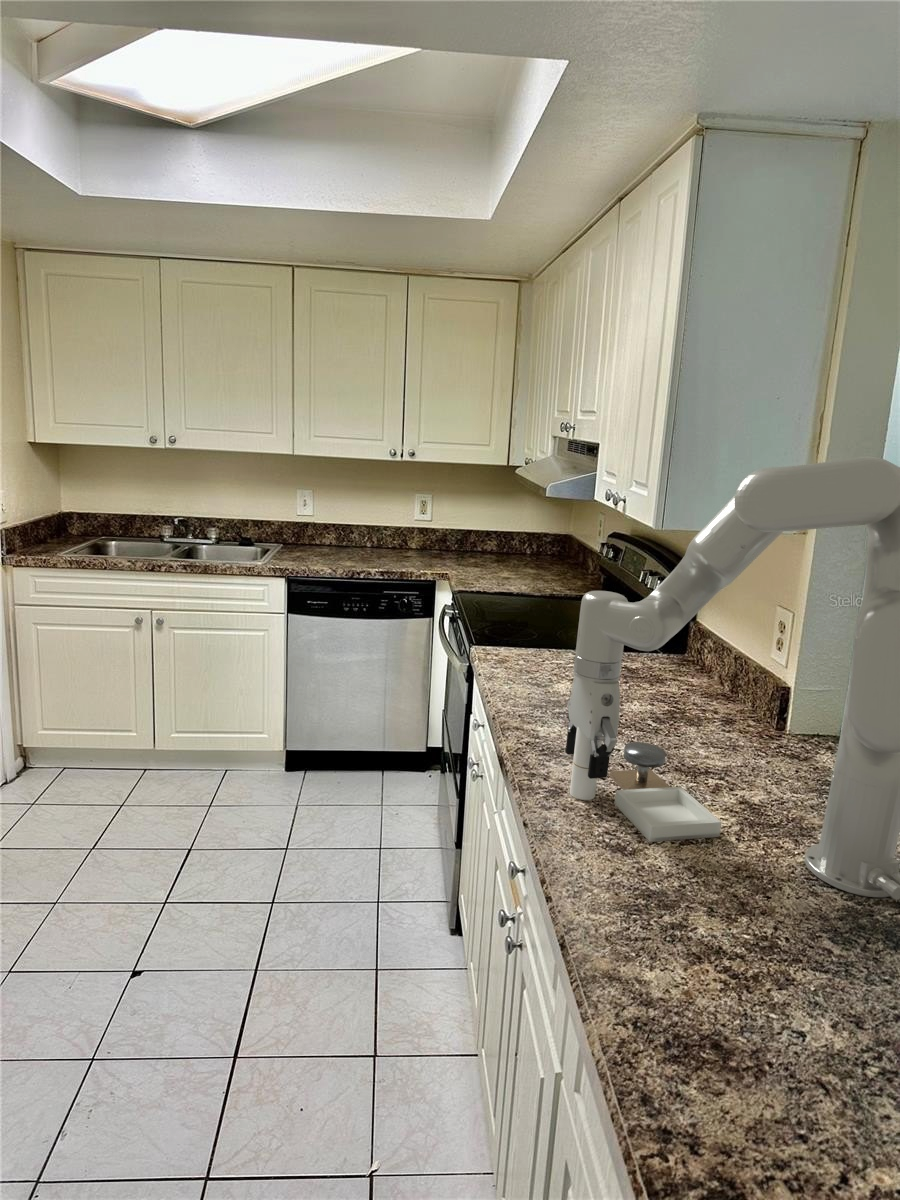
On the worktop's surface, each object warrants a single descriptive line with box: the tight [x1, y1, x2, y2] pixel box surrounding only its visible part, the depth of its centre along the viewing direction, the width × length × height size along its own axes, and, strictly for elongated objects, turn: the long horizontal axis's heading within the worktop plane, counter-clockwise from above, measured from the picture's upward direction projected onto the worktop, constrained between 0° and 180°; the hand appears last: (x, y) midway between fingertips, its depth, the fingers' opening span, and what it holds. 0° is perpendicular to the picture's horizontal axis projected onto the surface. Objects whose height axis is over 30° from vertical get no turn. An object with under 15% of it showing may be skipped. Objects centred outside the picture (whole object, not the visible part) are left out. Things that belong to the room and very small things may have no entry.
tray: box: [613, 786, 722, 843], centre depth 124 cm, size 12×12×2 cm
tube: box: [569, 727, 603, 801], centre depth 129 cm, size 4×4×15 cm
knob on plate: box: [609, 741, 671, 790], centre depth 135 cm, size 8×8×7 cm
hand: (585, 764), depth 130 cm, fingers open, 8 cm apart
